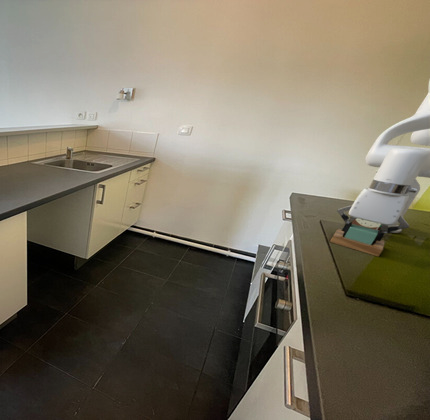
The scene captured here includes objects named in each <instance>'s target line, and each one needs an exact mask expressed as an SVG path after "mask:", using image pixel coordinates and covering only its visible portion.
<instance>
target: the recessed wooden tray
mask: <svg viewBox="0 0 430 420" xmlns="http://www.w3.org/2000/svg"><path fill="white" fill-rule="evenodd" d="M343 233H344V232H343V231H342V229H341V228H337V230H336V231H335V233H334V234H333V235H332V237H331V239H330V240H329V243H332V244H335V245H339V246H342V247H346V248H347V249H352V250H354V251H359V252H361V253H365V254H369V255H372V256H375V257H380V255H381V254H382V252H383V251H384V247H385V246H384V245H385V240H383V239H381V241H376V243H373V242H372V244H371V245H370V244H366V243H363V242H359V241H356V240H352V239H349V238H345V235H343Z"/></svg>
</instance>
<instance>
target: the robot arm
mask: <svg viewBox="0 0 430 420" xmlns="http://www.w3.org/2000/svg"><path fill="white" fill-rule="evenodd" d="M427 87H428V88H427V89H428V90H427V91H428V93H427V94H426V96H425V98H424V99H423V100H422V102H421V104H420V105H419V107H418V108H417V109H416V111H415V113H414V114H413V115H412V116H410V117H407V118H405V119H403V120H401V121H400V120H399V122H396V123H395V124H393V125H391V126H390V127H388V128H386V129H385V130H384V131H383V132H381V133H380V134H379V135H378V137H377V138H376V139H375V141H374V142H373V144H372V145H371V147H370V149H369V150H368V152H367V154H366V155H365V159H364V160H365V161H364V162H365V163H366V165H367V166H369V167H373V168H378V170H377V171H376V173H375V175H374V176H373V179H372V181H371V182H370V184H369V186H368V187H364V189H362V190H361V192H360V193H359V194H358V195H357V197H356V198H355V200H354V201H353V203H352V204H351V205H347V206H344V207H341V208H338V209H337V210H336V212H337V213H338V215H339V216H340V217H341V219H342V221H344V226H343V227H342V229H341V230H342V231H343V232H344V233H343V235H346V234H347V232H348V230H349V228H350V227H351V225H352V222H353V221H354V220H356V219H357V218H359V219H363V220H367V221H372V222H376V223H380V224H381V229H380V231H378V233H377V236H376V238H375V239H374V241H373V243H376V241H381V240H383V237H384V236H385V235H386V234H388V233H390V234H391V233H392V234H399V233H401V232H402V231H403V230H405V229H408V228H410V224H409V223H408V222H407V220H405V218H404V216H405V214H406V213H407V211H408V210H409V208H410V207H411V205H412V203H413V202H414V200H415V199H416V197H417V196H418V194H419V192H420V191H421V185H420V183H419V182H418V180H417V177H420V178H428V179H430V148H429V147H430V79H429V80H428V85H427ZM409 133H411V136H410V138H409V141H410V143H412V144H414V145H417V146H411V145H398V144H389V143H390V141H392V140H393V139H395V138H397V137H400V136H402V135H405V134H409ZM419 146H420V147H419ZM421 146H425V147H421ZM347 211H348V215H347V214H346V212H347ZM349 216H350V217H349Z"/></svg>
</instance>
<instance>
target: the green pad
mask: <svg viewBox="0 0 430 420" xmlns="http://www.w3.org/2000/svg"><path fill="white" fill-rule="evenodd" d="M377 233H378V230H374V229H370V228H366V227H362V226H358V225H354V224H352V225H351V227H350V228H349V230H348V232H347V234H346V235H345V238H349V239H352V240H356V241H359V242H363V243H366V244H370V245H371V244H372V242H373V241H374V239H375V238H376V236H377Z"/></svg>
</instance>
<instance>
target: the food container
mask: <svg viewBox="0 0 430 420" xmlns="http://www.w3.org/2000/svg"><path fill="white" fill-rule="evenodd" d="M352 224H354V225H358V226H362V227H366V228H370V229H374V230H378V231H380V229H381V224H380V223H376V222H372V221H367V220H363V219H359V218H357V219H356V220H354V221H353V222H352Z"/></svg>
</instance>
